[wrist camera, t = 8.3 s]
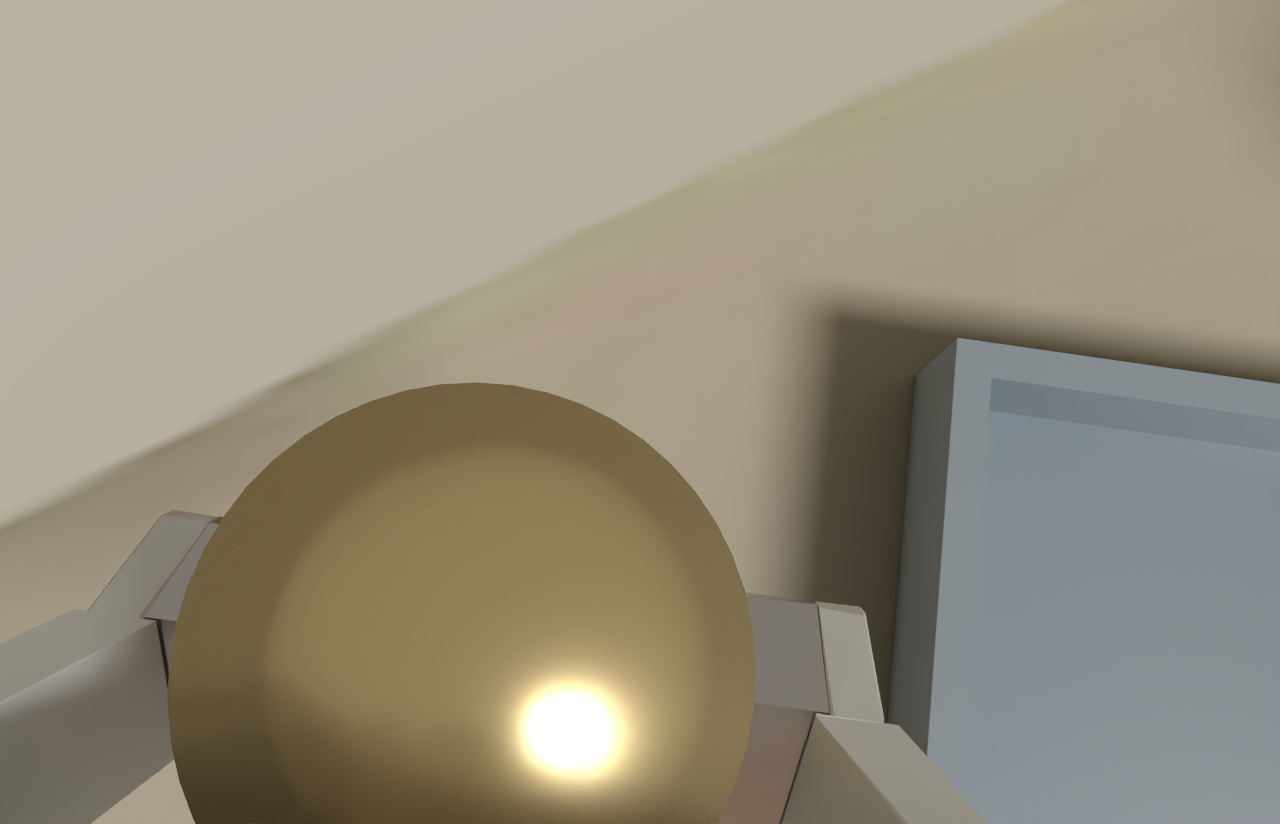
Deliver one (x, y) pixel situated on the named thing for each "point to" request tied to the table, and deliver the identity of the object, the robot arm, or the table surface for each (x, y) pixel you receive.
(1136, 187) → the table surface
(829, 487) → the table surface
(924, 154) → the table surface
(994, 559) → the tray
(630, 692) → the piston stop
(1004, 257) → the table surface
